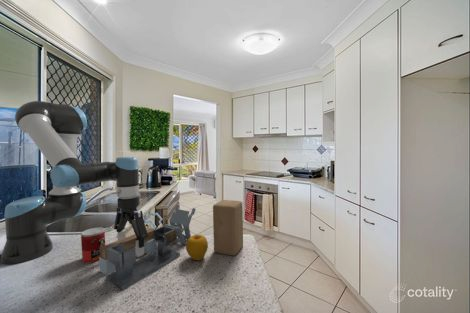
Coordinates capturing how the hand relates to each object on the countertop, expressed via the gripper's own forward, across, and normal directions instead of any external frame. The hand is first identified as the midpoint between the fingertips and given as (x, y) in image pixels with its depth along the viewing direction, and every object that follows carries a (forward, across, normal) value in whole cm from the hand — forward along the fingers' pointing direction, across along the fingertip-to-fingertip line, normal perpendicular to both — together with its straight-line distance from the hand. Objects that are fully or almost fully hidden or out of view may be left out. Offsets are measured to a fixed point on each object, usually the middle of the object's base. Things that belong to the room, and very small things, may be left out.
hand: (130, 251), depth 78 cm
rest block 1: (+3, 0, -8) cm, 9 cm away
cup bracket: (+3, +10, 0) cm, 11 cm away
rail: (-2, 0, 0) cm, 2 cm away
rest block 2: (+3, 0, +8) cm, 9 cm away
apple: (+4, +22, +14) cm, 26 cm away
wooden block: (+4, +29, +26) cm, 39 cm away
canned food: (+3, -14, -7) cm, 16 cm away
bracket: (+4, +4, +21) cm, 22 cm away
